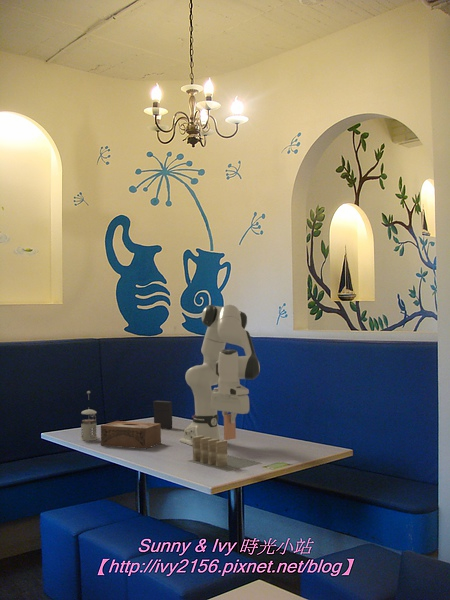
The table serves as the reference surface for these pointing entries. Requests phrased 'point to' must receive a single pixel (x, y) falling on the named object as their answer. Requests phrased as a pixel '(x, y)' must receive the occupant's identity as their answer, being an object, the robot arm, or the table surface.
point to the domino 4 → (221, 453)
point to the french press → (88, 425)
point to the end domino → (229, 428)
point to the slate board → (230, 463)
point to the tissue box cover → (131, 434)
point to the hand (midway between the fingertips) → (229, 422)
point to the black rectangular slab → (163, 413)
